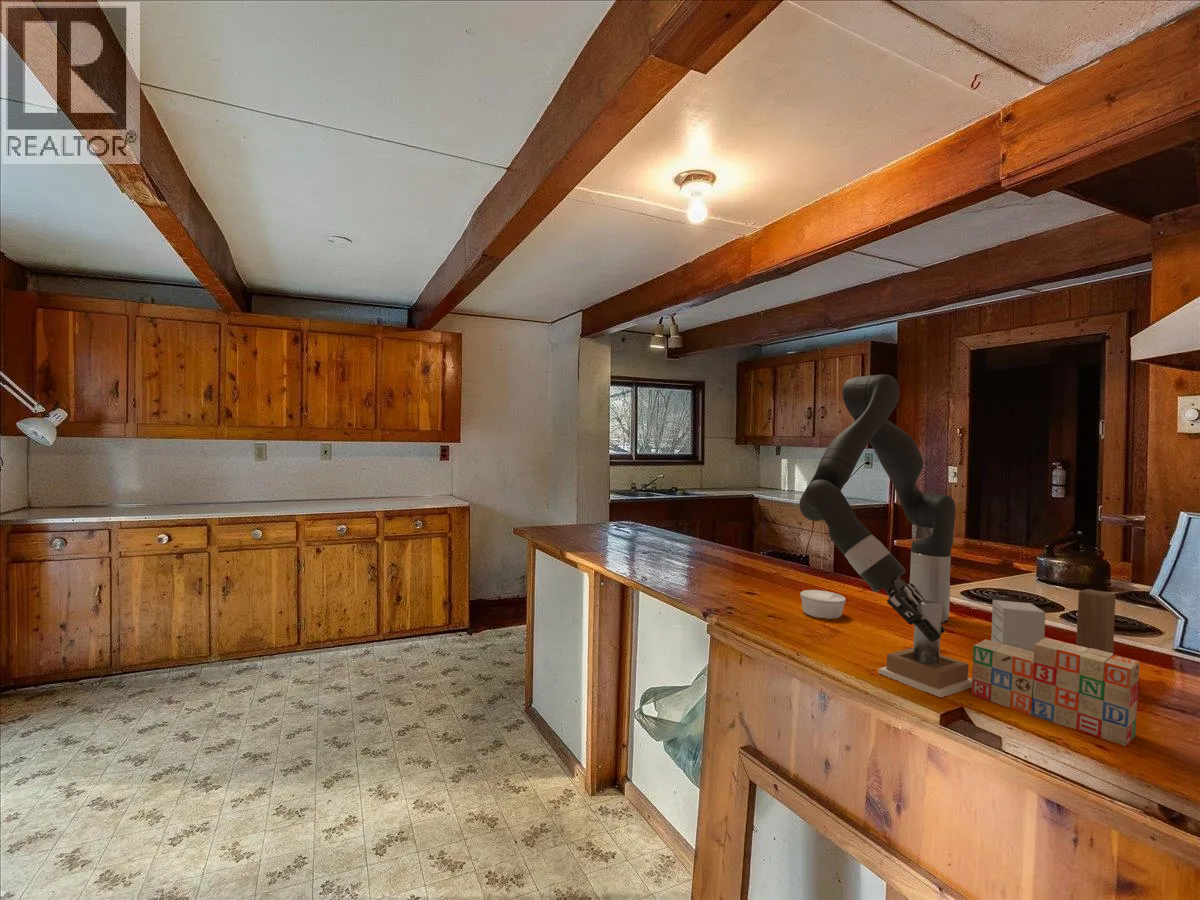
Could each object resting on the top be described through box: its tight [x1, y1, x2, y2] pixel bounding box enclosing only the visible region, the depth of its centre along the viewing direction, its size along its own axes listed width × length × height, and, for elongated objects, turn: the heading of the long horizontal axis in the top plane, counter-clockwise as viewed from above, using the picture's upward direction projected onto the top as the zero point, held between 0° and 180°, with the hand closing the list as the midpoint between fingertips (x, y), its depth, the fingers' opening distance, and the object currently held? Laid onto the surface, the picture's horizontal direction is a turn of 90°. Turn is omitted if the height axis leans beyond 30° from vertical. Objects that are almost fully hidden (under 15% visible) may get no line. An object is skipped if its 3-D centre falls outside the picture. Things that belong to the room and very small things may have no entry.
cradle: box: [878, 647, 973, 698], centre depth 110 cm, size 12×12×4 cm
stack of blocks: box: [971, 637, 1141, 747], centre depth 97 cm, size 21×6×12 cm, turn 37°
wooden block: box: [1075, 588, 1117, 655], centre depth 112 cm, size 9×4×18 cm, turn 121°
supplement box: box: [990, 599, 1046, 652], centre depth 119 cm, size 7×7×13 cm
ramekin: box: [799, 589, 846, 620], centre depth 152 cm, size 11×11×5 cm
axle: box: [912, 600, 942, 664], centre depth 110 cm, size 4×4×11 cm
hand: (938, 636), depth 108 cm, fingers closed on axle, 4 cm apart
